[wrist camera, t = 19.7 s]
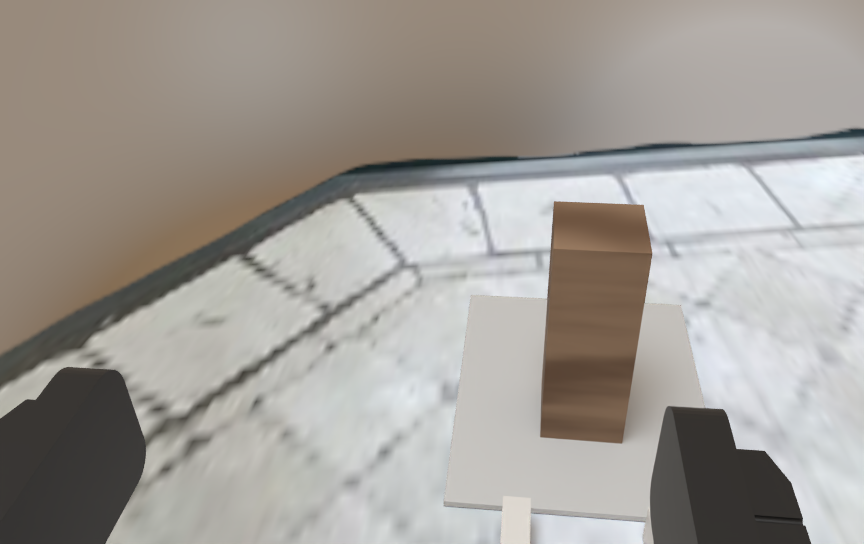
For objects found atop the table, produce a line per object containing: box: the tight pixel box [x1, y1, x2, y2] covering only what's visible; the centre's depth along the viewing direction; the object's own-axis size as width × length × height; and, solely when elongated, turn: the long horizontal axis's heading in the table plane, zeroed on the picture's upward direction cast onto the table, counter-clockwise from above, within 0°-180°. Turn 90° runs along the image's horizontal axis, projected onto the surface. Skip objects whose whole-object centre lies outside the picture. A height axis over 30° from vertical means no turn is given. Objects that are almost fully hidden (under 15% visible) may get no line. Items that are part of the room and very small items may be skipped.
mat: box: [444, 295, 705, 522], centre depth 52 cm, size 20×16×1 cm
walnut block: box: [540, 201, 652, 444], centre depth 46 cm, size 5×5×14 cm
